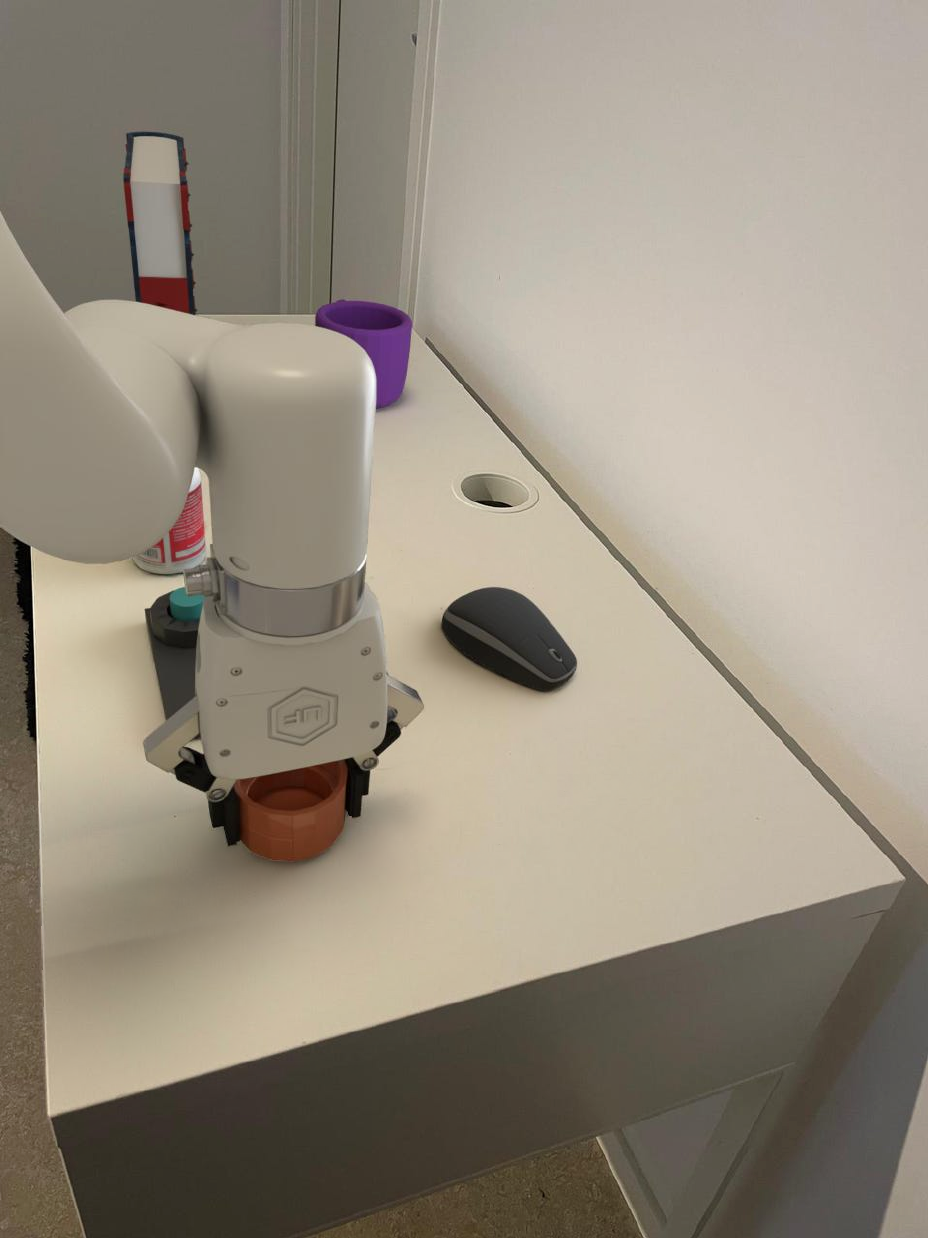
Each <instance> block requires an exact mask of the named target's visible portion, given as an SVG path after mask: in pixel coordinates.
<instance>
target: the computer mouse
mask: <svg viewBox="0 0 928 1238" xmlns="http://www.w3.org/2000/svg"><path fill="white" fill-rule="evenodd" d="M441 628H442V631H443V634H444V635H445V636H446V638H447V639H448V640H449V641H450V642H451V643H452V644H453V646H455V647H456V648H457V649H458V650H459V651H460V652H461V653H463V654H464V655H466V656H467V657H468V658H470V659H472V660H473V661H474V662H476V663H477V664H480V665H482V666H484V667H486V668H487V669H489V670H491V671H493V672H495V673H497V674H499V675H502V676H505V677H506V678H508V679H510V680H512V681H514V682H517V683H520V684H522V685H525V686H527V687H530V688H533V689H535V690H539V691H550V690H554V689H557V688H559V687H561V686H562V685H564V684H565V683H567V682H568V681H569V680H570V679H571V678H572V677H573V675H574V674H575V673H576V671H577V667H578V660H577V659H578V658H577V656H576V655H575V653H574V652H573V650H572V649H571V648H570V646H569V645H568V643H567V642H566V641H565V639H564V638H563V637H562V634H560V632H559V631H558V630H557V629H556V627H555V626H554V624H552V623H551V621H550V620H549V619H548V617H547V616H546V615H545V614H544V613H543V611H542V610H541V609H540V608H539V607H538V606H537V605H536V604H535V603H534V601H532V600H531V599H530V598H528V597H527V596H525V595H524V594H522V593H520V592H518V591H516V590H514V589H510V588H507V587H502V586H501V587H500V586H499V587H498V586H489V587H482V588H478V589H475V590H472V591H469V592H468V593H466V594H463V595H461V596H460V597H458V598H456V599H455V600H454V601H452V602H451V603H450V604H449V605H448V607H447V608H446V609H445V610H444V612H443V614H442V617H441Z"/></svg>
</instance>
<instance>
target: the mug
mask: <svg viewBox="0 0 928 1238" xmlns="http://www.w3.org/2000/svg"><path fill="white" fill-rule="evenodd" d="M314 321H315V322H314V326H317V327H321V328H325V329H329V330H332V331H335V332H338V333H340V334H343V335H345V336H347V337H349V338H350V339H352V340H354V341H355V342H356V343H357V344H358V345H360V346H361V347H362V348H363V349H364V350H365V351H366V353H367V355H368V356H369V358H370V359H371V361H372V363H373V366H374V369H375V374H376V409H381V408H385V407H388V406H390V405H392V404H394V403H396V402H397V401H398V400H399V399H400V398H401V396H402V394H403V392H404V389H405V385H406V380H407V375H408V367H409V361H410V353H411V344H412V343H411V342H412V330H413V320H412V319H411V317H410V316H409V314H407V313H406V312H405V311H403V310H401V309H398V308H396V307H394V306H392V305H387V304H383V303H380V302H379V303H378V302H373V301H367V300H365V301H364V300H346V299H342V298H341V299H338V300H336V301H334V302H329V303H326V304H324V305H322V306H320V307H319V308H317V310H316V313H315V317H314Z"/></svg>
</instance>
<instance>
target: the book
mask: <svg viewBox="0 0 928 1238" xmlns="http://www.w3.org/2000/svg"><path fill="white" fill-rule="evenodd" d="M125 138H126V143H125V144H124V146H125V151H126V152H125V160H124V161H125V162H124V168H123V176H122V177H123V179H122V180H123V192H124V200H125V201H124V203H125V211H126V220H127V228H128V236H129V237H128V238H129V247H130V257H131V267H132V268H131V269H132V277H133V278H132V279H133V289H134V298H135V299H134V300H135V302H140V303H145V304H150V305H154V306H158V307H163V308H167V309H171V310H175V311H179V312H183V313H187V314H191V315H196V316H197V312H198V309H197V308H196V299H195V295H194V289H195V285H196V284H197V283H196V281H195V279H194V278H195V277H194V269H193V266H192V262H193V259H194V258H193V257H194V256H195V254H194V253H193V248H192V247H193V246H192V240H191V235H190V233H191V231H192V229H191V228H192V227H193V224H192V223H191V216H190V210H189V201H190V197H191V194H190V193H189V185H188V179H187V175H186V173H187V171H188V165H189V164H190V163H189V162H188V161H187V150H186V148H185V140H184V137H182V136H180V135H175V134H172V133H167V132H158V131H131V132H125Z"/></svg>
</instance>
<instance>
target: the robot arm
mask: <svg viewBox="0 0 928 1238" xmlns="http://www.w3.org/2000/svg"><path fill="white" fill-rule="evenodd" d="M376 412H377V408H376V374H375V369H374V366H373V363H372V361H371V359H370V358H369V356H368V355H367V353H366V351H365V350H364V349H363V348H362V347H361V346H360V345H358V344H357V343H356V342H355V341H354V340H352V339H350V338H349V337H347V336H345V335H343V334H340V333H338V332H335V331H332V330H329V329H325V328H321V327H317V326H315V325H312V324H306V323H298V322H297V323H296V322H265V323H256V324H255V323H254V324H249V325H243V324H238V323H232V322H227V321H222V320H218V319H214V318H209V317H204V316H199V315H197V314H196V315H191V314H187V313H183V312H179V311H175V310H171V309H167V308H163V307H158V306H154V305H150V304H145V303H140V302H136V301H134V300H133V301H132V300H125V299H98V300H92V301H88V302H84V303H81V304H78V305H76V306H74V307H72V308H71V309H69V310H67V311H65V312H63V310H62V309H61V308H60V306H59V305H58V303H57V302H56V301H55V299H54V298H53V297H52V295H51V294H50V292H49V291H48V289H47V288H46V287H45V285H44V283H43V282H42V281H41V279H40V278H39V276H38V274H37V273H36V272H35V270H34V268H33V267H32V266H31V264H30V262H29V261H28V259H27V258H26V256H25V254H24V252H23V250H22V249H21V247H20V245H19V243H18V242H17V240H16V238H15V236H14V235H13V233H12V231H11V230H10V228H9V226H8V224H7V221H6V220H5V218H4V215H3V214H2V211H1V210H0V528H1V529H3V530H4V531H5V532H7V533H8V534H9V535H11V536H13V538H15V539H17V540H19V541H20V542H22V543H23V544H26V545H27V546H29V547H32V548H33V549H35V550H37V551H39V552H41V553H42V554H46V555H48V556H51V557H54V558H56V559H57V558H58V559H60V560H62V561H68V562H69V561H70V562H73V563H74V562H75V563H80V564H85V565H107V564H113V563H118V562H122V561H127V560H130V559H133V557H134V556H136V555H139V554H141V553H144V552H145V551H147V550H148V549H150V548H151V547H153V546H154V545H156V544H157V543H158V542H159V541H160V540H161V539H162V538H163V537H164V536H165V535H166V534H167V533H168V532H169V531H170V530H171V529H172V528H173V526H174V525H175V523H176V521H177V520H178V518H179V516H180V515H181V513H182V511H183V509H184V506H185V503H186V500H187V497H188V493H189V489H190V486H191V482H192V478H193V474H194V469H195V467H197V468H198V469H199V470H201V471H203V473H205V475H206V477H207V480H208V488H209V489H208V490H209V508H210V523H211V539H212V540H211V542H212V543H210V544H209V553H210V557H206V559H205V561H206V562H205V564H199V565H198V566H197V567H195V568H192V569H184V570H183V572H182V573H183V574H182V576H183V584H184V587H185V590H186V594H187V596H194V595H202V596H203V597H205V599H204V603H203V607H202V611H201V617H200V622H199V629H198V637H197V647H196V666H195V697H194V698H193V699H192V700H191V701H189V702H188V703H187V704H186V705H185V706H183V707H182V708H181V709H180V710H179V711H177V712H176V713H175V714H174V715H173V716H171V717H170V718H169V719H168V720H166V719H165V721H164V722H163V723H161V724H160V725H159V726H158V727H156V728H155V729H154V730H153V731H152V732H151V733H150V734H148V735H147V736H146V737H145V738H144V739H143V742H142V745H143V751H144V756H145V757H144V758H145V760H146V762H147V763H149V764H151V765H153V766H155V767H156V768H158V769H160V770H161V771H164V772H166V773H167V774H169V773H170V774H172V775H174V776H175V779H176V780H177V781H178V782H180V783H182V784H184V785H186V786H189V787H191V788H193V789H195V790H198V791H200V792H203V793H205V796H206V799H207V807H208V814H209V815H208V816H209V820H210V825H211V827H212V829H219V828H222V829H223V832H224V836H225V837H224V838H225V840H226V845H227V847H233V846H237V845H238V843H239V842H240V843H241V841H240V835H239V812H238V800H237V795H236V792H235V788H234V784H235V782H236V781H237V779H246V778H252V777H257V776H263V775H268V774H273V773H279V772H284V771H289V770H294V769H299V768H304V767H309V766H314V765H319V764H323V763H328V762H333V761H338V760H342V759H344V760H345V763H346V765H347V768H348V781H347V798H346V815H347V816H348V817H349V818H350V817H351V819H355V818H360V817H361V816H362V804H363V797H364V796H365V797H366V796H369V792H370V781H371V780H370V779H371V770H374V769H375V768H377V766H378V765H379V763H380V760H379V756H380V755H381V754H383V753H384V752H385V751H386V750H387V749H388V748H389V747H390V746H391V745H392V744H394V743H395V742H396V741H397V740H398V739H399V738H400V737H401V735H402V730H403V728H407V727H408V726H409V725H410V724H411V723H412V722H413V721H414V720H415V719H416V718H417V717H418V716H419V715H420V714H421V713H422V712H423V710H424V709H425V704H424V702H423V700H422V698H421V696H420V694H419V692H418V691H417V690H416V689H415V688H413V687H411V686H409V685H408V684H406V683H403V682H402V681H400V680H398V679H397V678H395V677H393V676H391V675H390V674H389V673H388V674H389V675H388V674H387V672H388V671H387V655H386V654H387V653H386V640H385V631H384V621H383V616H382V611H381V606H380V601H379V598H378V597H377V595H376V594H375V593H374V591H373V590H372V589H371V587H370V586H369V584H368V583H367V582H366V572H367V571H366V570H367V554H368V540H369V539H368V536H369V525H370V524H369V523H370V507H371V490H372V475H373V459H374V445H375V444H374V443H375V442H374V441H375V425H376ZM199 733H200V734H201V738H200V742H201V746H202V752H203V753H202V752H200V751H198V750H196V749H193V748H191V747H189V746H186V745H187V744H189V743H190V742H192V740H194V739H193V738H194V737H196V736H197V735H198V734H199Z"/></svg>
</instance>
